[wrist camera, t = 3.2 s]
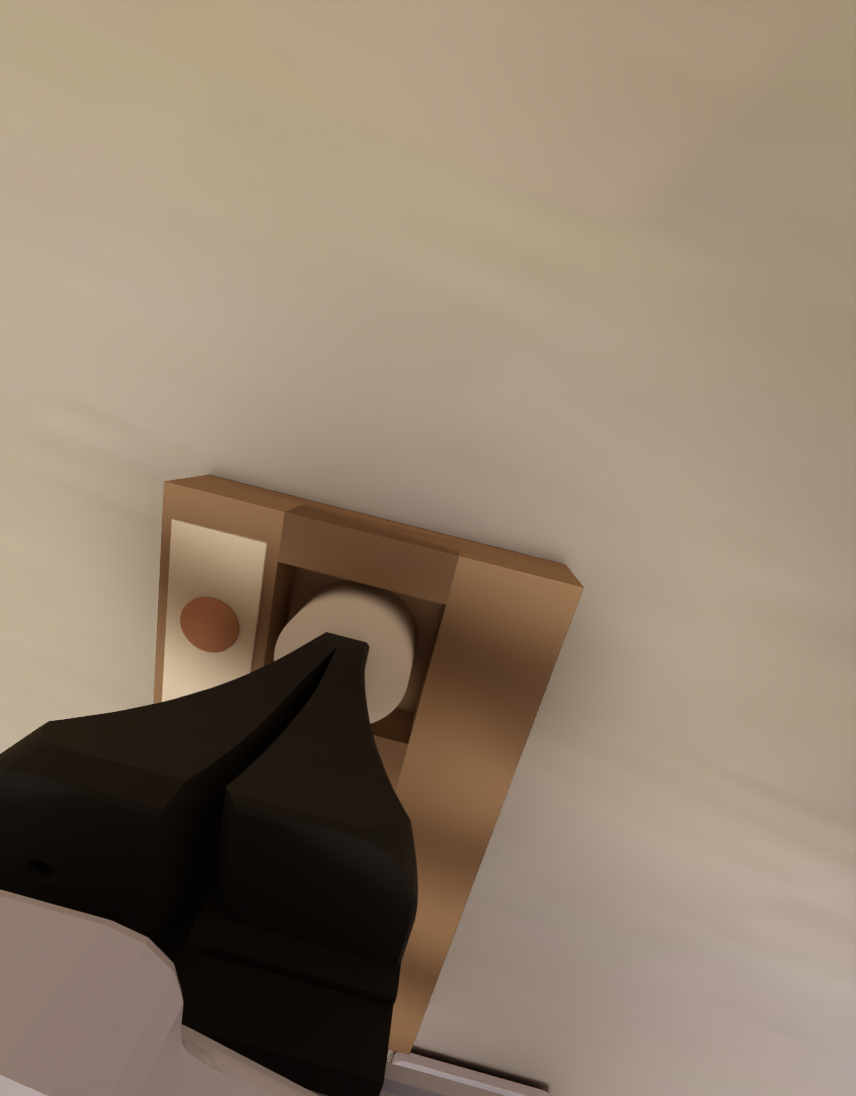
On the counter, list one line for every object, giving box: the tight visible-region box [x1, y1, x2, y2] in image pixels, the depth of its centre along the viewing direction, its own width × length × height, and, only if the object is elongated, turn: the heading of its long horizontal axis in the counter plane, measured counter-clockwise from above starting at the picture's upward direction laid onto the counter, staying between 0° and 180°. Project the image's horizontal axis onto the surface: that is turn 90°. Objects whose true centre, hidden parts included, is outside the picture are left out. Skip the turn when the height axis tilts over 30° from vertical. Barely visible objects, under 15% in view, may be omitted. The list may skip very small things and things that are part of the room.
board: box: [154, 475, 584, 1055], centre depth 15 cm, size 22×12×2 cm, turn 167°
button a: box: [274, 580, 417, 724], centre depth 13 cm, size 4×4×2 cm
